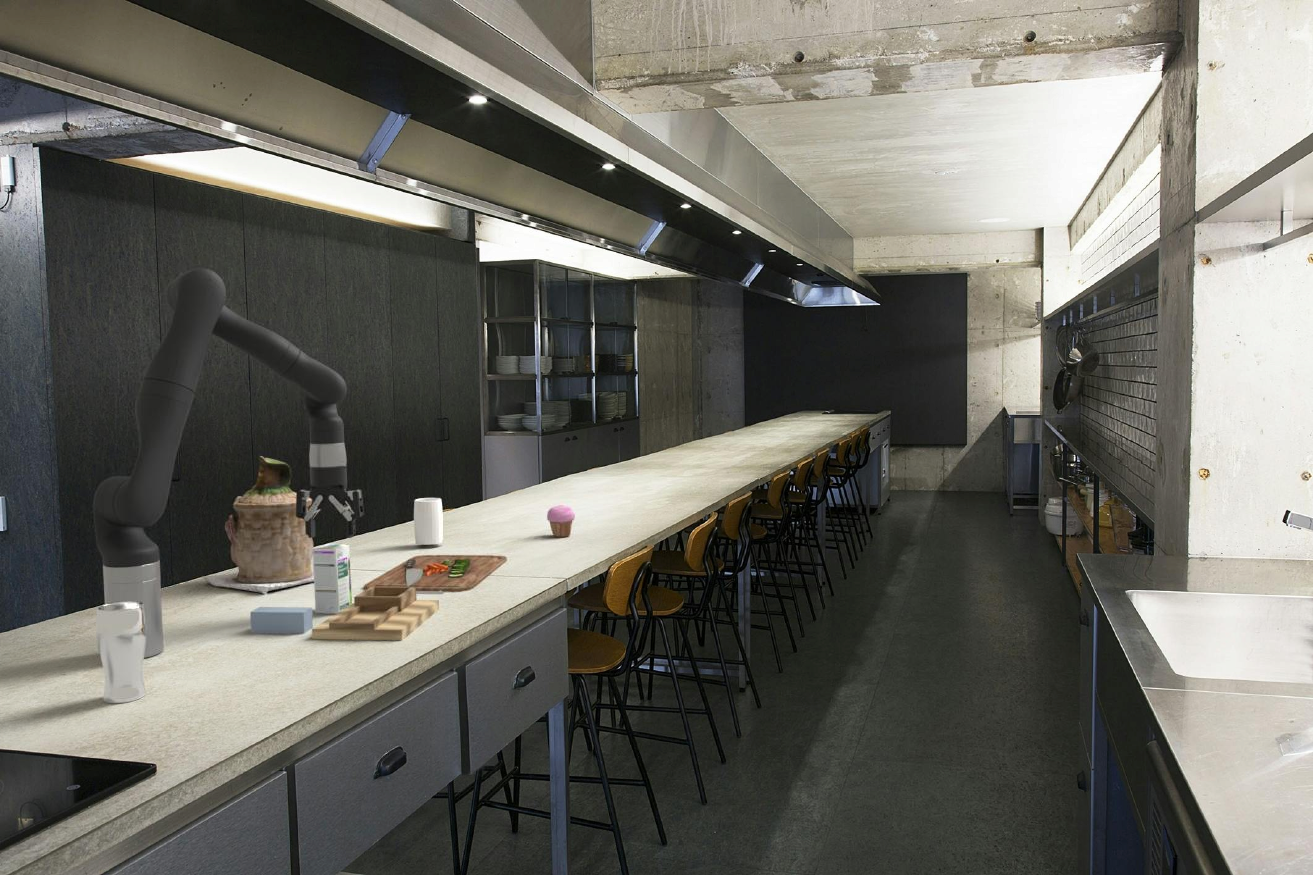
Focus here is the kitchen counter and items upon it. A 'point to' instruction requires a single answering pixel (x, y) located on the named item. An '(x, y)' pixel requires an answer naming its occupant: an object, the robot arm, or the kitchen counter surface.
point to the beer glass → (122, 649)
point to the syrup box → (332, 578)
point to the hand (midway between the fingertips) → (331, 537)
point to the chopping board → (440, 573)
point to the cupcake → (561, 520)
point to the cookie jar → (268, 535)
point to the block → (281, 620)
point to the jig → (378, 615)
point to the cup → (428, 521)
